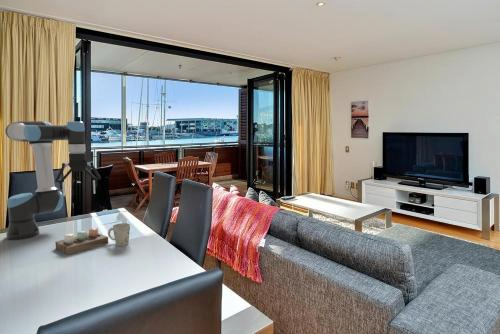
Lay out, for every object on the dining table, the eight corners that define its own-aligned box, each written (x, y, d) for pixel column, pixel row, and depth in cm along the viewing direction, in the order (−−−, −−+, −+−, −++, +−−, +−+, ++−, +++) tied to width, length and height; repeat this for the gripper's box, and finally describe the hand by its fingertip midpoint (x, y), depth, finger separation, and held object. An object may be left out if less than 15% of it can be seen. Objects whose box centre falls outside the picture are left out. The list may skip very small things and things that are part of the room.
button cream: (63, 243, 159) (62, 235, 159) (72, 240, 163) (72, 233, 162) (67, 244, 157) (66, 237, 156) (76, 242, 160) (75, 234, 160)
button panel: (55, 248, 161) (55, 241, 161) (95, 237, 177) (95, 231, 176) (67, 254, 153) (67, 247, 152) (108, 243, 168) (107, 236, 168)
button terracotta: (87, 236, 169) (87, 229, 168) (96, 234, 172) (95, 227, 172) (91, 238, 166) (91, 231, 166) (100, 236, 169) (99, 228, 169)
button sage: (75, 239, 164) (75, 232, 164) (84, 237, 167) (84, 230, 167) (79, 241, 161) (79, 233, 161) (88, 239, 165) (88, 231, 164)
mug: (124, 247, 162) (123, 228, 161) (102, 245, 165) (101, 226, 164) (134, 241, 170) (133, 223, 169) (112, 240, 173) (111, 222, 172)
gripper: (46, 153, 151) (49, 198, 153) (105, 152, 161) (106, 193, 164) (48, 152, 157) (51, 195, 160) (104, 151, 168) (106, 191, 171)
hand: (79, 194), depth 162 cm, fingers open, 13 cm apart
